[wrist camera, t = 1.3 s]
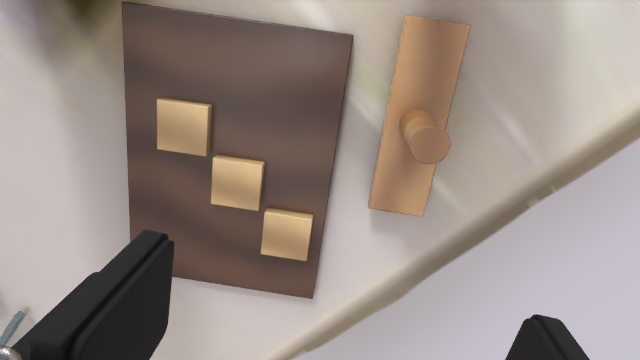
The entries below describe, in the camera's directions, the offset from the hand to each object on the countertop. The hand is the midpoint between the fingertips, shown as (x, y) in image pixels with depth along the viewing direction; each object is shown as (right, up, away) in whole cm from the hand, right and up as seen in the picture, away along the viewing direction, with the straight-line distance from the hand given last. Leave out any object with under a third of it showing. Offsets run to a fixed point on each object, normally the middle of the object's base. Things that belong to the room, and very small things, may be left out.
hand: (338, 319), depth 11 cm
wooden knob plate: (+7, +8, +21) cm, 24 cm away
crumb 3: (-3, -1, +24) cm, 24 cm away
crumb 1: (-11, +8, +21) cm, 25 cm away
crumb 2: (-7, +4, +23) cm, 24 cm away
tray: (-8, +5, +23) cm, 25 cm away
